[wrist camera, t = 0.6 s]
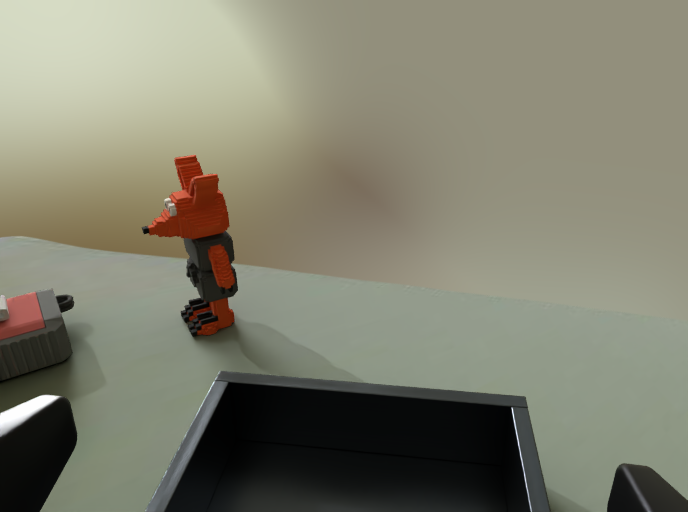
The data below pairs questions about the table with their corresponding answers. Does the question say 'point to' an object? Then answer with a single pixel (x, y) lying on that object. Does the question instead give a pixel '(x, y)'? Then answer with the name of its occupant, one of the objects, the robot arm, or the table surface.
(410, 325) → the table surface
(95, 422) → the table surface
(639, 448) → the table surface
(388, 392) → the tray
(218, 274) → the toy animal
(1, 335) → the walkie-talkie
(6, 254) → the table surface
